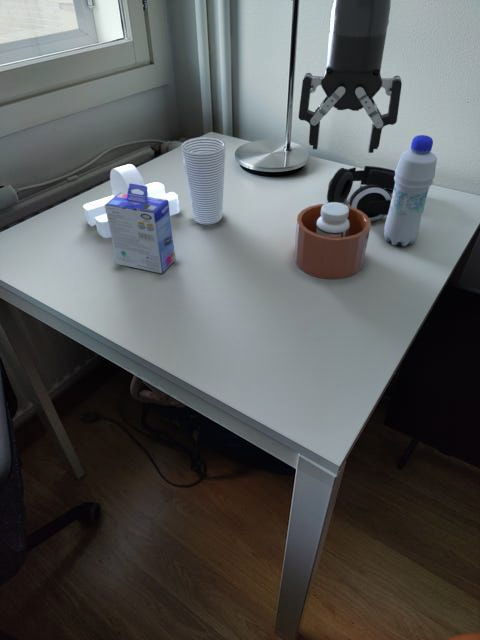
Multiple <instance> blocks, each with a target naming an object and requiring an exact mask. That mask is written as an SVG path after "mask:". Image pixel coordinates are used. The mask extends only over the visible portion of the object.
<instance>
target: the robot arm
mask: <svg viewBox="0 0 480 640" xmlns="http://www.w3.org/2000/svg"><path fill="white" fill-rule="evenodd" d="M391 3H392V0H332V4H331V11H330V17H329V18H330V19H329V29H328V43H327V53H326V65H325V72H324V74H323V75H322V76H319V75H313V73H311V72H306V73H305V74H304V76H303V79H302V83H301V90H300V91H301V92H300V100H299V109H298V119H299V120H300V121H305V122H307V123H308V124H309V135H308V144H309V146H312V150H315V151H317V150H318V148H319V141H320V140H319V139H320V138H319V137H320V128H321V120H322V119H323V118H324V117H325V116H326V115H327V114H328V113H329V112H330V111H331V109H332V108H335V109H336V111H346V110H350V111H353V112H359V111H360V110H362V109H364V111H365V112H366V114H367V116H368V117H369V119H370V120H371V122H372V124H371V131H370V137H369V141H368V154H373V153H374V150H378V148H379V147H380V141H381V136H382V132H383V129H384V127H386V126H389V125H390V126H393V125H396V124H397V122H398V115H399V109H400V102H401V101H400V100H401V93H402V87H403V86H402V85H403V84H402V78H401V76H400V75H395V76H393V77H385V78H383V77H382V75H381V69H382V64H383V58H384V51H385V45H386V39H387V32H388V26H389V23H390V13H391ZM319 86H320V87H321V89H322V90H323V92H324V93H325V97H324V99H323V100H322V101H321V102H320V104H319V105H318V106H317V108H315V110H314V111H312V110H310V109H309V108H310V101H311V100H310V99H311V94H313V93H315V92H316V91H317V88H318V87H319ZM382 88H383V89H384V90H385V95H387V96H388V97H389V101H388V102H389V103H388V111H387V113H384V114H382V113H381V111H380V109H379V107H378V105H377V103H376V101H375V99H374V97H375V96H376V95H377V93H378V92H379V91H380V90H381V89H382Z"/></svg>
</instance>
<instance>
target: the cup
mask: <svg viewBox="0 0 480 640" xmlns="http://www.w3.org/2000/svg"><path fill="white" fill-rule="evenodd" d="M180 150H181V154H182V160H183V165H184V171H185V178H186V181H187V187H188V192H189V199H190V203H191V209H192V214H193V219H194V220H193V221H195V222H196V223H198V224H201V225H214V224H216V223H219V222H221V220H222V218H223V209H224V207H223V206H224V205H223V204H224V187H225V186H224V185H225V184H224V183H225V162H226V143H225V141H224V140H222V139H220V138H217V137H213V136H198V137H193V138H192V137H191V138H188V139H187V140H185V141H183V142H182V143H181V144H180Z"/></svg>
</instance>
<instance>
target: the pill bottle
mask: <svg viewBox="0 0 480 640" xmlns="http://www.w3.org/2000/svg"><path fill="white" fill-rule="evenodd" d="M323 204H324V205H323V206H322V208H321V217H319V219H318V220H317V223H316V234H318V235H322V236H326V237H336V238H337V237H348V233H349V227H350V223H349V220H348V219H347V217H348V214H349V208H348V207H347V206H348V205H346V204H345V203H338V202H330V203H328V202H326V203H323Z"/></svg>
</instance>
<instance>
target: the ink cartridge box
mask: <svg viewBox="0 0 480 640" xmlns="http://www.w3.org/2000/svg"><path fill="white" fill-rule="evenodd" d="M133 189H139V190H141V191H143V192H144V194H143V195H139V194H133V193H132V192H131V190H133ZM147 191H148V186H142V185H136V184H129V188H128V194H125V193H119V194H118V195H116V196H115V197H114V198H112V199H111V200H110V201H109V202H108V203H106V204H105V209H106V214H107V218H108V223H109V228H110V233H111V237H110V238H111V241H112V247H113V251H114V255H115V261H116V264H117V265H120V266H125V267H130V268H135V269H140V270H144V271H149V272H154V273H158V274H163V273H164V272H165V271H166V270H167V269H168V268H170V266H172V264H173V263H174V262H175V261H176V252H175V245H174V237H173V228H172V222H171V221H172V220H171V216H170V212H169V204H168V200H167V199H160V198H153V197H147Z"/></svg>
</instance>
